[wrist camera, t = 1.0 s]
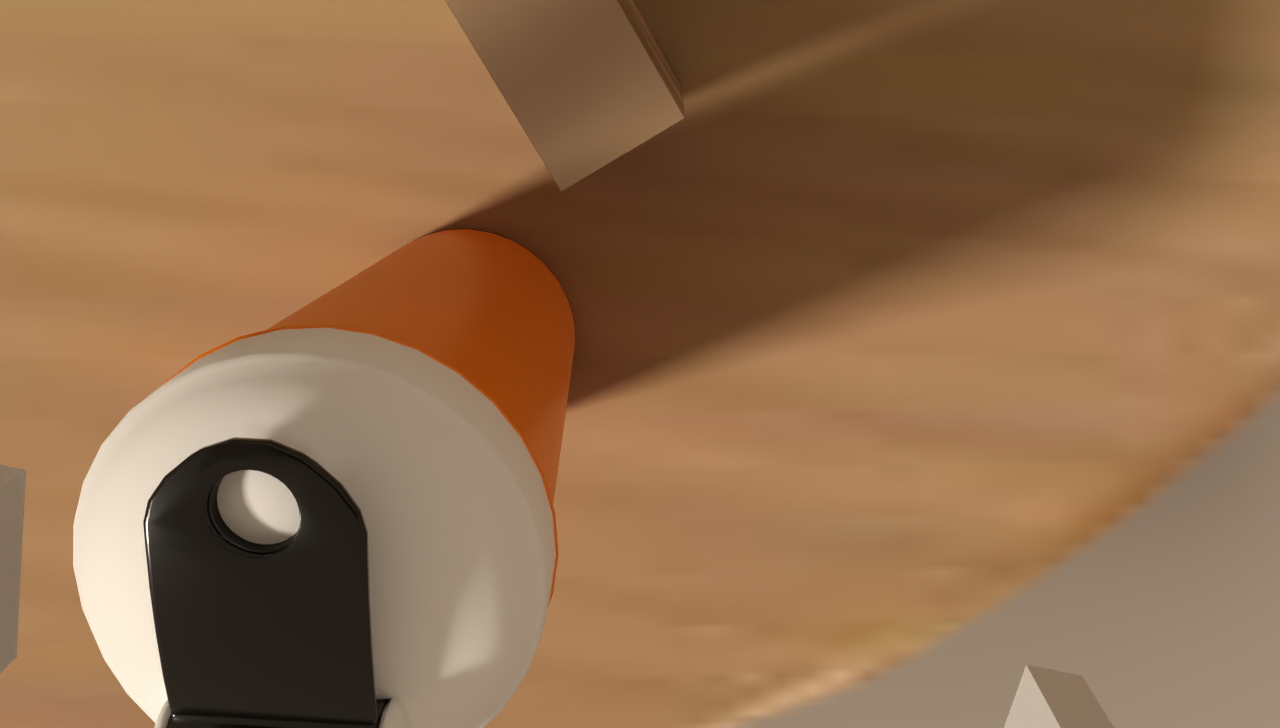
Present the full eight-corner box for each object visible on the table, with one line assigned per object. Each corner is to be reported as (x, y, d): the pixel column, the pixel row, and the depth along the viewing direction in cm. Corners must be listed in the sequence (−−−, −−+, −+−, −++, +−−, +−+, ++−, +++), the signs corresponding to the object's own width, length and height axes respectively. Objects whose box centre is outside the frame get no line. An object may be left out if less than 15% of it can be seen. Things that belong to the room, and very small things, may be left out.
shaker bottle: (587, 185, 37) (490, 373, 17) (618, 449, 39) (563, 869, 20) (310, 212, 37) (-81, 425, 18) (358, 472, 40) (60, 901, 20)
